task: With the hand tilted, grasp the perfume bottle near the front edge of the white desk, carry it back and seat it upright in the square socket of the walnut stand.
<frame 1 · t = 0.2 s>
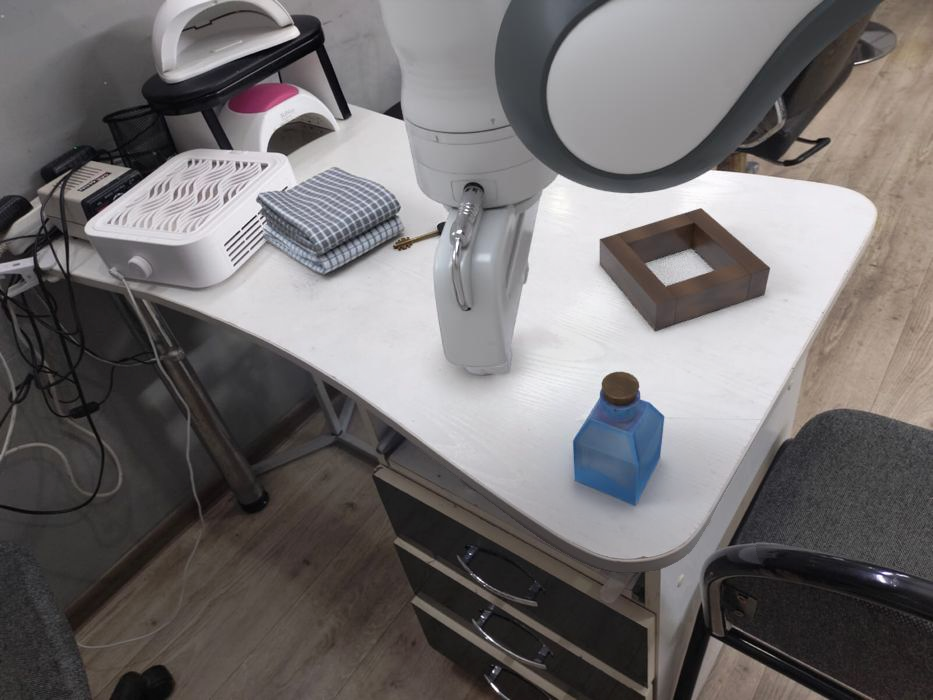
hand: (508, 320, 49), 23 cm above the table, tool pointing down, fingers open, 8 cm apart
perfume bottle: (617, 470, 66), on the table
stand: (678, 278, 85), on the table
cup: (483, 360, 80), on the table
towel: (334, 237, 103), on the table
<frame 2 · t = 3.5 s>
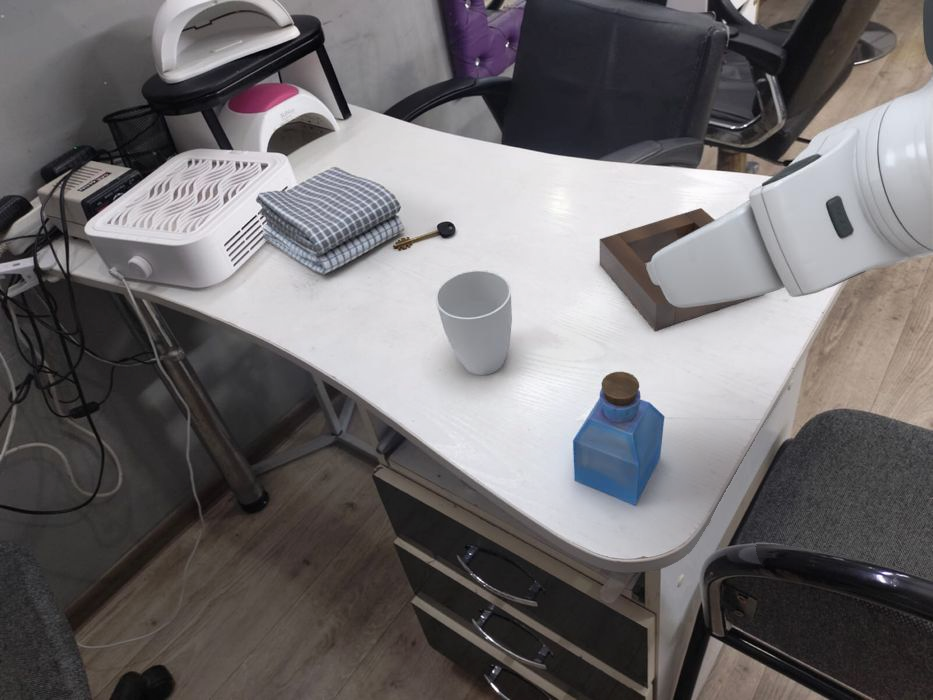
hand: (696, 249, 52), 23 cm above the table, tool tilted 50°, fingers open, 8 cm apart
nothing on the table moved.
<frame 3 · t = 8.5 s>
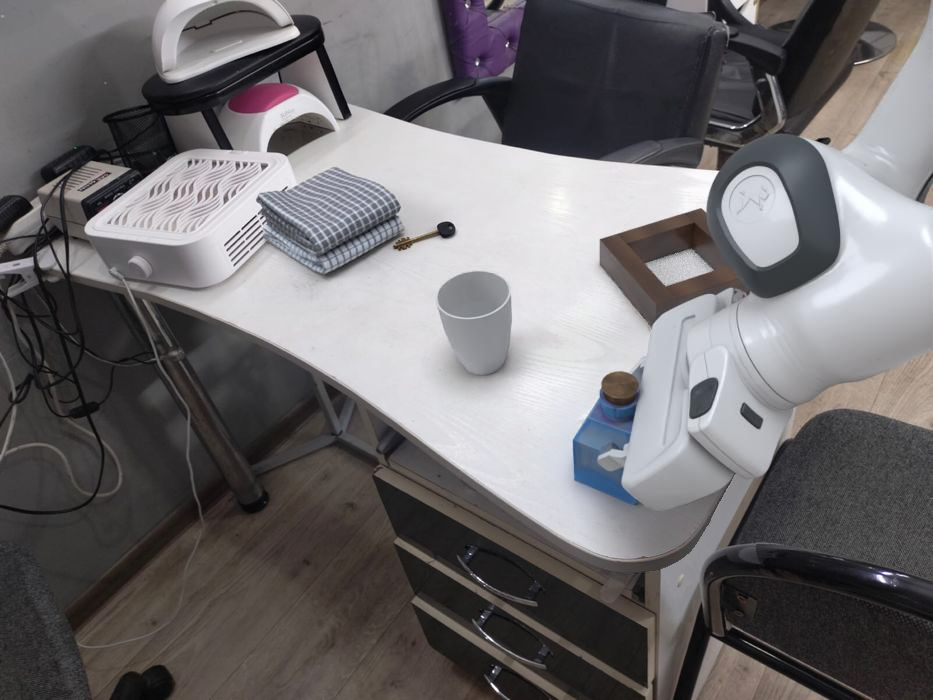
hand: (611, 425, 62), 6 cm above the table, tool tilted 45°, fingers closed on perfume bottle, 7 cm apart
perfume bottle: (617, 469, 66), on the table, touching gripper
everything else where it was.
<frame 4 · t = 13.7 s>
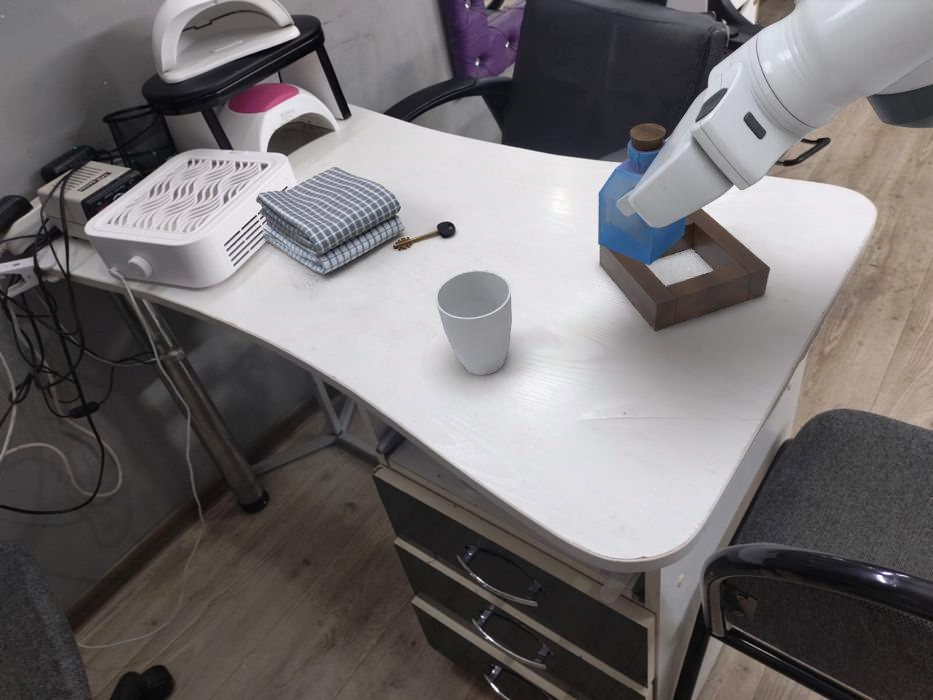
hand: (638, 184, 66), 20 cm above the table, tool tilted 45°, fingers closed on perfume bottle, 7 cm apart
perfume bottle: (640, 241, 70), point 13 cm above the table, touching gripper
everything else where it was.
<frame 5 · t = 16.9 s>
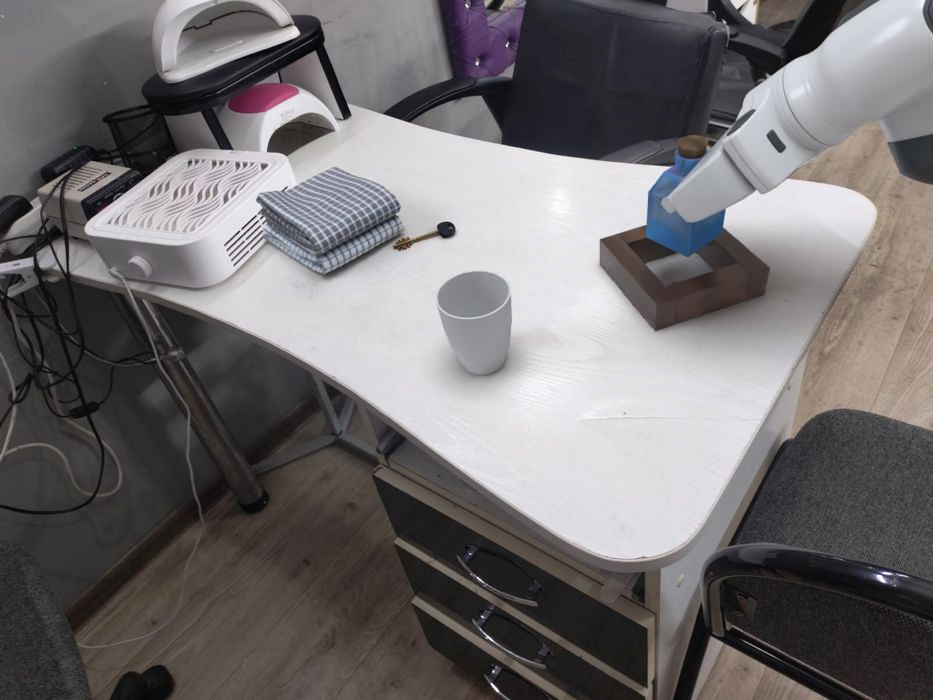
hand: (683, 187, 77), 13 cm above the table, tool tilted 45°, fingers closed on perfume bottle, 7 cm apart
perfume bottle: (683, 236, 81), point 6 cm above the table, touching gripper
everything else where it was.
when the fingers open (6 cm above the table, at t = 19.3 s): perfume bottle stays where it is, resting in stand.
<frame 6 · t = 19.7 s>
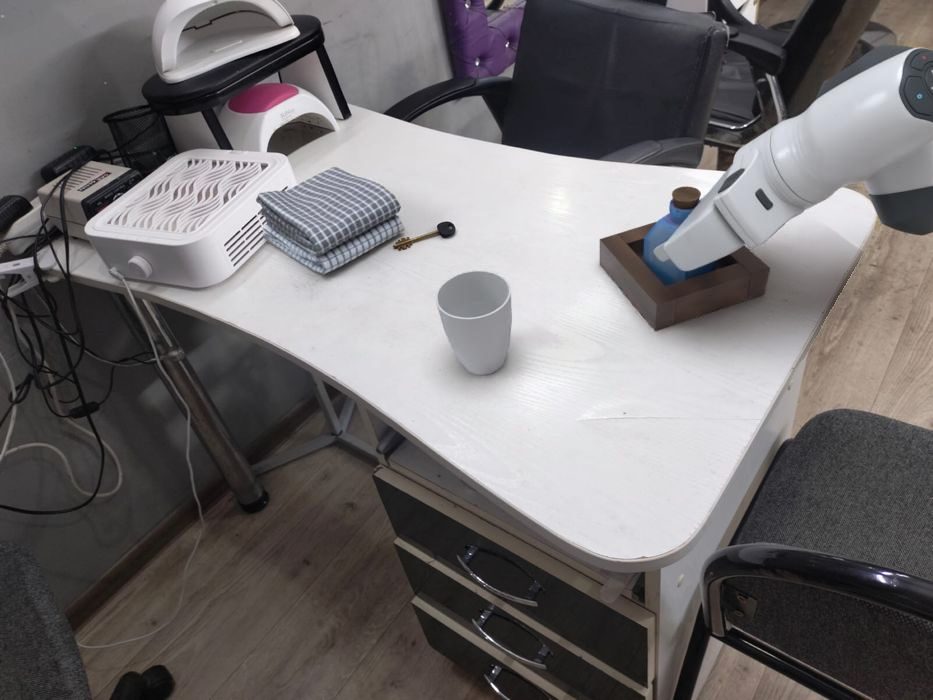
hand: (677, 232, 81), 7 cm above the table, tool tilted 45°, fingers open, 8 cm apart
perfume bottle: (677, 278, 86), resting in stand
everything else where it was.
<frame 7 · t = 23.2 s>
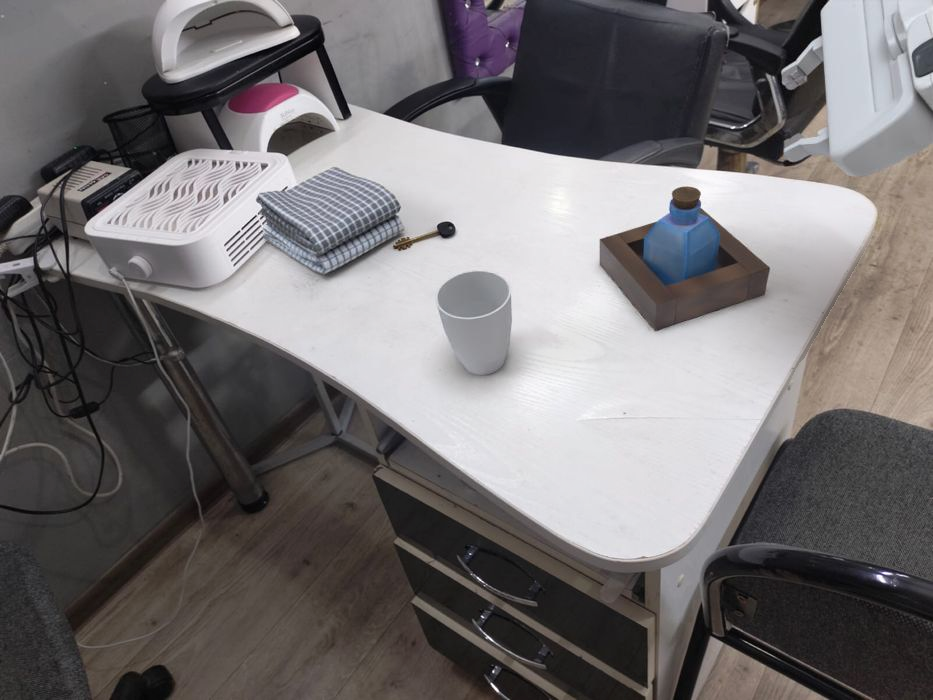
hand: (785, 116, 66), 23 cm above the table, tool tilted 50°, fingers open, 8 cm apart
nothing on the table moved.
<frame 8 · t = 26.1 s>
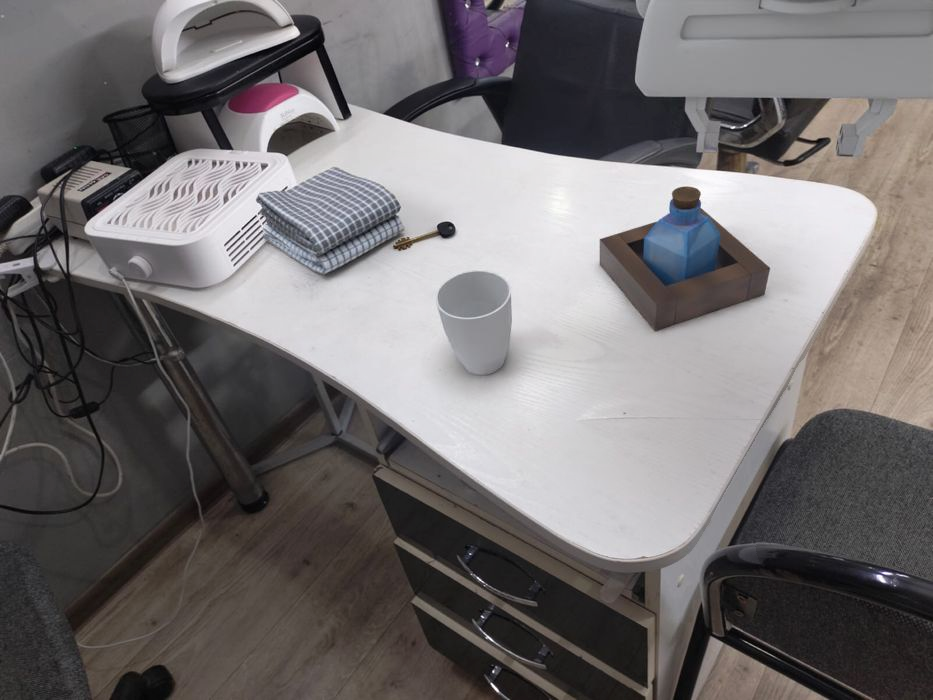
hand: (775, 151, 50), 29 cm above the table, tool pointing down, fingers open, 8 cm apart
nothing on the table moved.
at the end: perfume bottle 0.3 cm off-centre in the stand, point 0.0 cm above the stand's base; perfume bottle tilted 0°; the gripper is holding nothing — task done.
